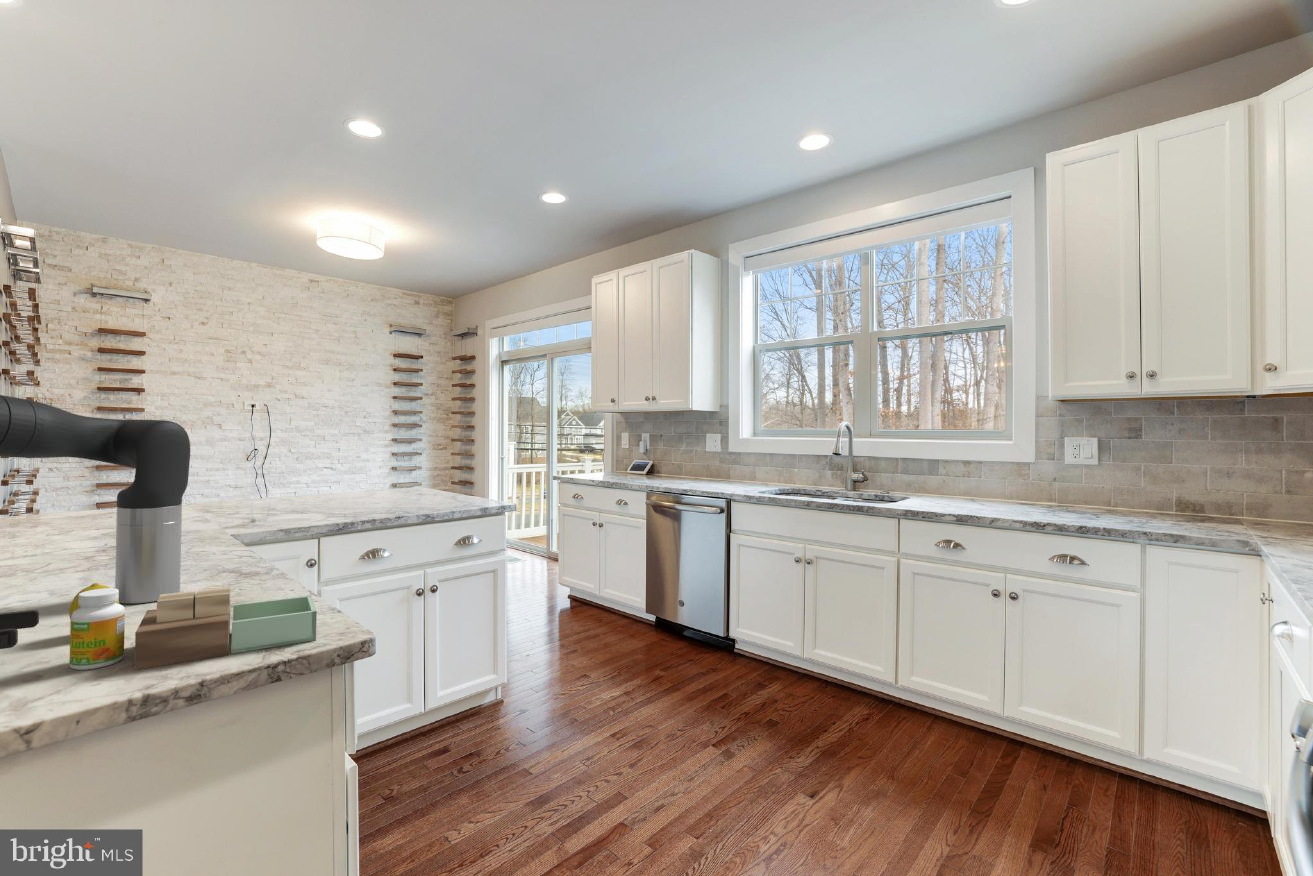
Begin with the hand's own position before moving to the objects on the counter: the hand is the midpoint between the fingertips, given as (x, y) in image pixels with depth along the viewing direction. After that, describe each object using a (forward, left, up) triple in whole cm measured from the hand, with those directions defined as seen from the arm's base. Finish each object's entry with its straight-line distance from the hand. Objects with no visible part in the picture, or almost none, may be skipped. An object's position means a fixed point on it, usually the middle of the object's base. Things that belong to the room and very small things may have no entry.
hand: (28, 627), depth 76 cm
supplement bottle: (0, +7, -6) cm, 9 cm away
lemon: (-14, +4, -6) cm, 16 cm away
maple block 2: (0, +19, -1) cm, 19 cm away
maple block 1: (0, +15, -1) cm, 15 cm away
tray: (0, +27, -6) cm, 28 cm away
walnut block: (0, +16, -6) cm, 17 cm away
